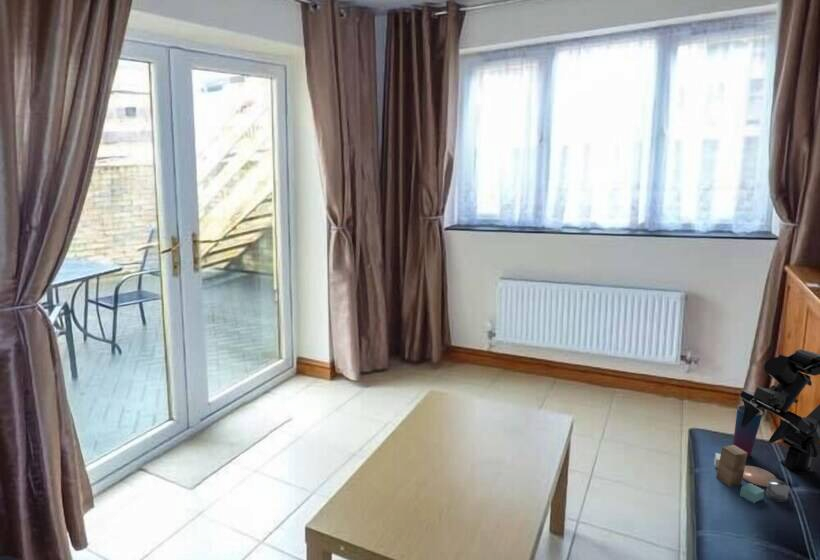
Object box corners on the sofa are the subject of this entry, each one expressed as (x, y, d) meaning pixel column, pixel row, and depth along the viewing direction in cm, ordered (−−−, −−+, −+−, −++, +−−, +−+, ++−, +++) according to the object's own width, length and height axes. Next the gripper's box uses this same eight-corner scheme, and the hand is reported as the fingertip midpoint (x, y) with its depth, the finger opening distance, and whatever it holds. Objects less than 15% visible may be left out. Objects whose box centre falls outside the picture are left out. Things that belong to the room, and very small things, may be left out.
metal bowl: (775, 490, 159) (778, 477, 158) (791, 501, 154) (794, 488, 153) (761, 492, 158) (764, 479, 157) (776, 503, 153) (779, 490, 152)
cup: (757, 460, 174) (766, 416, 170) (733, 457, 175) (742, 413, 172) (749, 449, 180) (757, 406, 177) (726, 446, 182) (734, 403, 178)
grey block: (713, 461, 173) (715, 452, 172) (728, 465, 171) (730, 456, 170) (714, 468, 169) (716, 459, 169) (729, 471, 168) (731, 462, 167)
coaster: (756, 465, 171) (757, 464, 171) (785, 485, 162) (785, 483, 161) (729, 469, 169) (730, 467, 168) (757, 488, 159) (757, 487, 159)
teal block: (748, 492, 158) (750, 482, 157) (762, 500, 154) (764, 490, 154) (739, 496, 156) (741, 486, 155) (754, 504, 152) (756, 494, 152)
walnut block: (728, 475, 165) (734, 444, 163) (741, 484, 161) (747, 452, 159) (716, 477, 164) (722, 446, 162) (729, 486, 160) (735, 455, 157)
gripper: (744, 365, 167) (714, 407, 168) (803, 391, 150) (769, 439, 150) (764, 381, 171) (734, 423, 172) (824, 409, 154) (791, 455, 154)
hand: (755, 434), depth 162 cm, fingers open, 9 cm apart
